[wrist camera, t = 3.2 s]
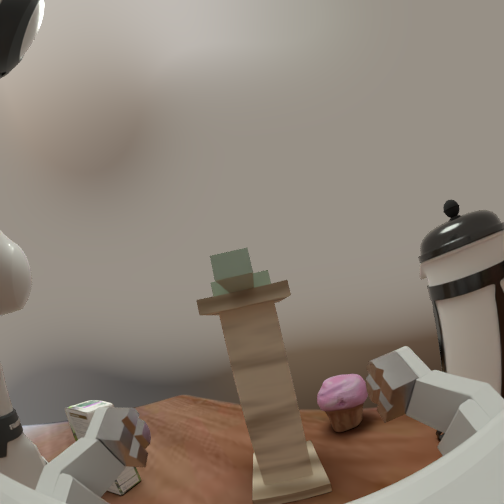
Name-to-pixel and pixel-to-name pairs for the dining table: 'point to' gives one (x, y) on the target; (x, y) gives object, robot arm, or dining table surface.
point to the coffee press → (467, 294)
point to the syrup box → (79, 425)
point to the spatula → (235, 273)
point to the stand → (267, 395)
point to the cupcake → (343, 400)
